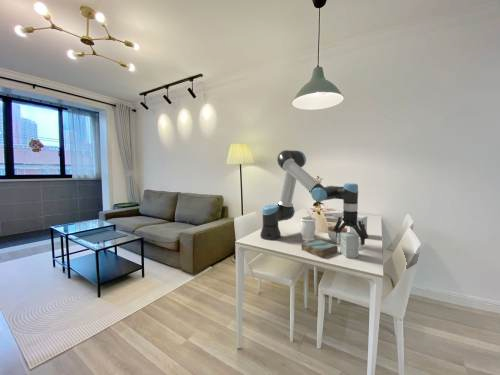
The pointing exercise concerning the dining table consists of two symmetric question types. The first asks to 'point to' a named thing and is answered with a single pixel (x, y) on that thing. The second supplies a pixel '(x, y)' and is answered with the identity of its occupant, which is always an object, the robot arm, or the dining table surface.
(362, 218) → the supplement box
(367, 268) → the dining table surface
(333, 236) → the lidded bowl
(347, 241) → the supplement box
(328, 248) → the podium
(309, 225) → the jar
